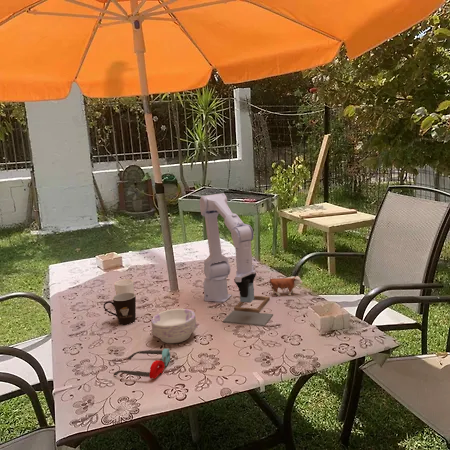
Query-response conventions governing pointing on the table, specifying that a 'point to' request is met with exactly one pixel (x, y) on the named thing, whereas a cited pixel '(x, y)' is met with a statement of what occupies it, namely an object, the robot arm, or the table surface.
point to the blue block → (250, 294)
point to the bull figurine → (285, 284)
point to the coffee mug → (124, 307)
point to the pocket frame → (239, 308)
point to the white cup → (124, 286)
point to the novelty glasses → (154, 367)
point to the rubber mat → (248, 318)
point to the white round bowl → (174, 325)
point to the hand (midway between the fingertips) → (246, 294)
